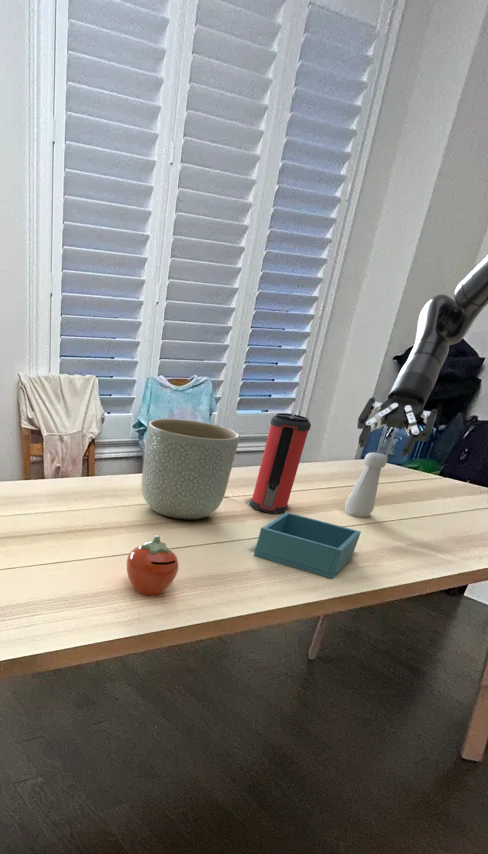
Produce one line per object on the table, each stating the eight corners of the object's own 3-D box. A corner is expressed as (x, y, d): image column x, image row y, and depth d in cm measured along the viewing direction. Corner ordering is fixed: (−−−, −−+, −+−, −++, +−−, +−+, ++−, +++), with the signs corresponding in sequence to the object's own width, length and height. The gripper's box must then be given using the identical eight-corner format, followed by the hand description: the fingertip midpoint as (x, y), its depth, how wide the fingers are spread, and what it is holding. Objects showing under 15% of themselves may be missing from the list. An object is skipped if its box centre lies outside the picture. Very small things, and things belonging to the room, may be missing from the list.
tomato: (137, 603, 87) (146, 546, 83) (114, 581, 93) (121, 527, 88) (183, 598, 90) (194, 544, 86) (157, 578, 95) (167, 525, 91)
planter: (162, 494, 135) (176, 415, 126) (234, 515, 127) (254, 433, 118) (119, 508, 123) (131, 423, 114) (196, 532, 115) (215, 443, 107)
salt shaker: (337, 515, 135) (358, 451, 128) (348, 511, 139) (369, 448, 131) (363, 523, 132) (386, 458, 125) (373, 519, 136) (397, 455, 128)
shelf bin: (351, 558, 113) (361, 531, 110) (331, 578, 103) (341, 550, 100) (278, 537, 118) (286, 511, 116) (253, 555, 109) (261, 527, 106)
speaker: (247, 509, 132) (270, 415, 121) (252, 500, 138) (274, 410, 128) (284, 517, 130) (311, 422, 120) (287, 507, 136) (313, 417, 126)
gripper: (381, 364, 132) (349, 429, 130) (454, 376, 126) (421, 444, 124) (377, 391, 138) (346, 453, 137) (446, 403, 133) (415, 468, 131)
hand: (382, 449), depth 130 cm, fingers open, 8 cm apart
